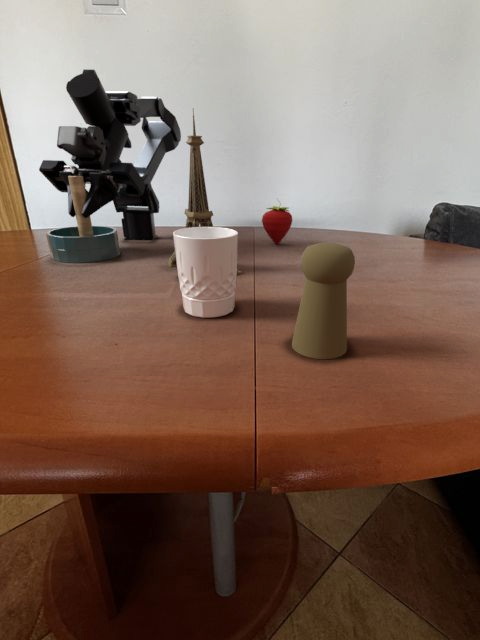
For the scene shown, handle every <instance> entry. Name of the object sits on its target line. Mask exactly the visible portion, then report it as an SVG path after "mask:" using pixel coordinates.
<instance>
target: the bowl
mask: <svg viewBox="0 0 480 640" xmlns="http://www.w3.org/2000/svg"><path fill="white" fill-rule="evenodd" d="M92 229H93V234H94V236H84V237H80V235H79V230H78V225H74V226H73V225H72V226H64V227H58V228H54V229H50V230H48V231H46V232H45V237H46V240H47V244H48V248H49V253H50V257H51V259H52V260H53V261H56V262H60V263H69V264H84V263H87V264H88V263H96V262H104V261H107V260H111V259H115V258H117V257H119V256H120V255H121V249H120V242H119V235H118V229H117V228H116V227H113V226H107V225H92Z"/></svg>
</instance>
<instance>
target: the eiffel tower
mask: <svg viewBox="0 0 480 640" xmlns="http://www.w3.org/2000/svg"><path fill="white" fill-rule="evenodd" d="M195 121H196V120H195V113H194V109H192V135H187V136H186V137H187V140H186V141H185V143H186V144H187V145H189V147H190V148H189V149H190V150H189V175H188V176H189V178H188V179H189V180H188V202H187V203H188V206H187V207H188V208H185V209H184V215H185V216H186V220H185V221H186V222H185V227H184V228H191V227H214V225H213V221H212V217H213V216H214V213H213V210H210V207H209V201H208V195H207V188H206V179H205V172H204V167H203V158H202V151H201V146H202V145H203V144H205V141H203V139H202V138H203V135H197V134H196V133H197V132H196V123H195ZM165 265H166V266H168V268H177V261H176V253H175V250H174V251H173V253H172V254H171V255H170V257H169V259H168V262H166V263H165ZM242 273H243V271H242V270H239V269H238V268H237V275H242ZM177 277H178V276H177ZM178 279H179V277H178Z"/></svg>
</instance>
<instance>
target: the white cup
mask: <svg viewBox="0 0 480 640" xmlns="http://www.w3.org/2000/svg"><path fill="white" fill-rule="evenodd" d="M172 237H173V245H174V251H175V253H176V261H177V267H176V268H177V277H179V278H178V282H179V289H180V292H181V299H182V307H183V310H184V312H185V314H188V315H190V316H192V317H195V318H196V317H197V318H204V319H205V318H208V319H209V318H210V319H211V318H219V317H223V316H227V315H228V314H230V313H233V311H234V309H235V306H236V304H235V303H236V289H237V276H238V274H237V269H238V250H239V249H238V246H239V245H238V244H239V232H238V231H237V230H235V229H232V228H227V227H220V226H219V227H218V226H213V227H200V226H199V227H191V228H185V227H184V228H178V229H176V230H174V231H173V232H172Z"/></svg>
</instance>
